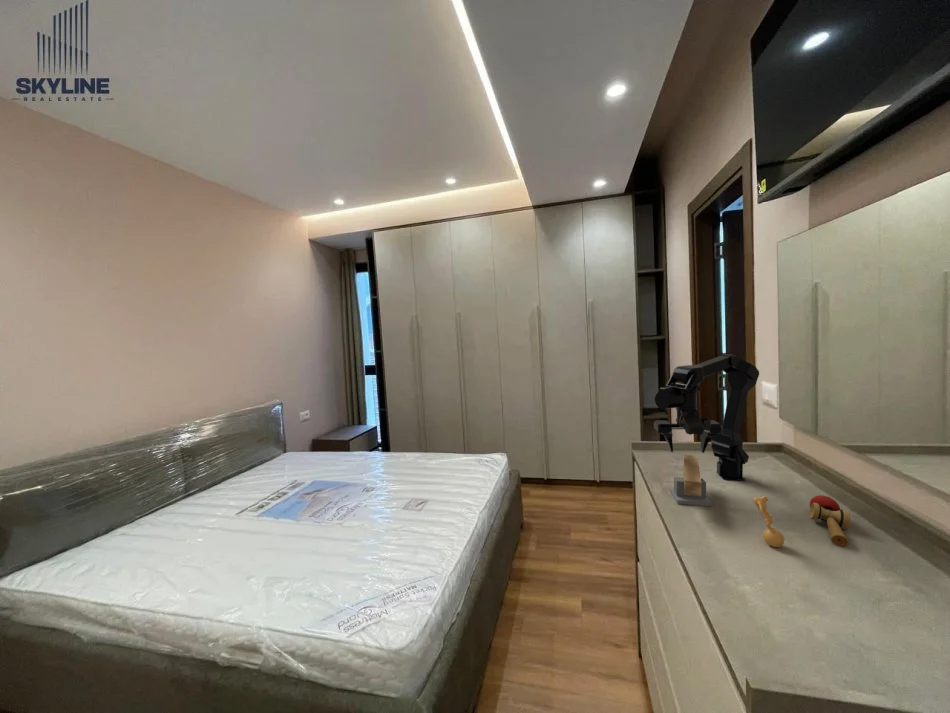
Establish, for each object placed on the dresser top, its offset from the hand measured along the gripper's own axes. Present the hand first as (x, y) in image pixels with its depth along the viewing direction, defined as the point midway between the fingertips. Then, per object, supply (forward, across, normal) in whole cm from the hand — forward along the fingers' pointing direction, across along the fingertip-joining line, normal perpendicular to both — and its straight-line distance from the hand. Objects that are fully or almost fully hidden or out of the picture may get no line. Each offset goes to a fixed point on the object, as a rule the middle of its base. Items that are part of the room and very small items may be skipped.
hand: (687, 452), depth 119 cm
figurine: (+12, +8, -31) cm, 34 cm away
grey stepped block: (+12, -2, -9) cm, 15 cm away
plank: (+6, -2, -9) cm, 10 cm away
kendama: (+12, +27, -21) cm, 36 cm away
